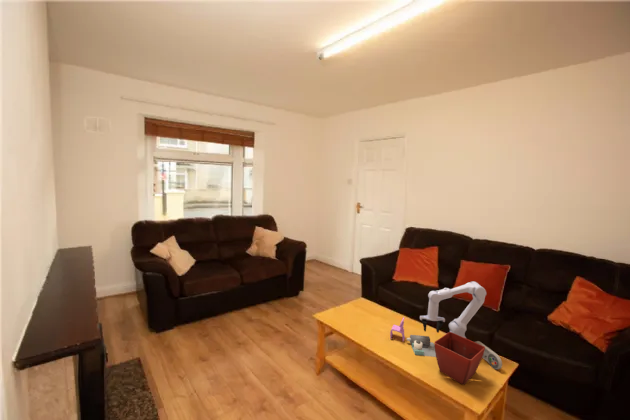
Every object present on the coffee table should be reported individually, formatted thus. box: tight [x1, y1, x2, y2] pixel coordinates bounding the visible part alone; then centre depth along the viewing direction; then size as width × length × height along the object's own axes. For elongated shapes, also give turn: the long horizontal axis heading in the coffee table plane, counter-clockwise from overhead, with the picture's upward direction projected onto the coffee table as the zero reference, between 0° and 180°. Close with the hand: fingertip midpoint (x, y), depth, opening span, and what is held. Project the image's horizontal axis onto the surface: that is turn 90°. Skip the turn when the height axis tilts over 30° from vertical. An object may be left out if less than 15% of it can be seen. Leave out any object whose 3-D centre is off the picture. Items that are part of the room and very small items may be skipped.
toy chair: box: [389, 317, 406, 342], centre depth 183 cm, size 8×9×15 cm
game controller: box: [474, 340, 503, 370], centre depth 164 cm, size 20×2×8 cm, turn 11°
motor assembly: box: [406, 334, 436, 358], centre depth 173 cm, size 17×15×6 cm
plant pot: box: [433, 331, 485, 385], centre depth 152 cm, size 19×19×17 cm
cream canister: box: [413, 340, 423, 352], centre depth 169 cm, size 5×5×6 cm
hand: (431, 331), depth 176 cm, fingers open, 7 cm apart
